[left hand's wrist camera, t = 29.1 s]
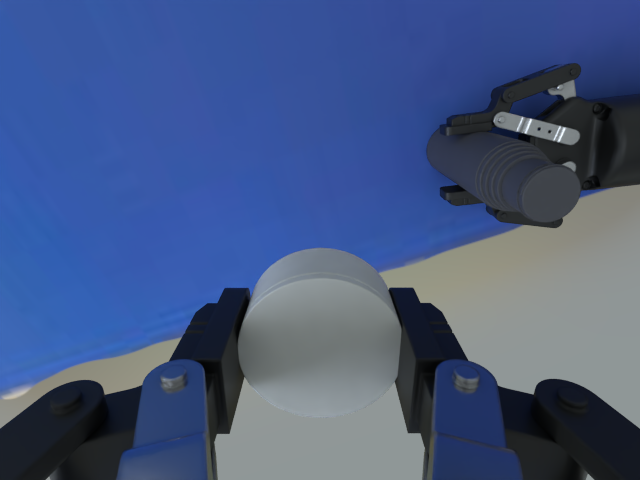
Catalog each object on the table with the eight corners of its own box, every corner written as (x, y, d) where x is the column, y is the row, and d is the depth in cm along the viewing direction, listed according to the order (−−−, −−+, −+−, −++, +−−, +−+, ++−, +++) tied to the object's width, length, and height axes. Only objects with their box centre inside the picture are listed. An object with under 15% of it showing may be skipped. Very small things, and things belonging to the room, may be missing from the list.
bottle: (481, 127, 38) (609, 159, 21) (467, 175, 40) (575, 240, 23) (433, 120, 38) (525, 146, 21) (421, 169, 40) (497, 229, 23)
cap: (354, 222, 11) (361, 249, 9) (413, 338, 13) (430, 383, 11) (223, 285, 12) (204, 322, 10) (292, 388, 13) (288, 438, 11)
